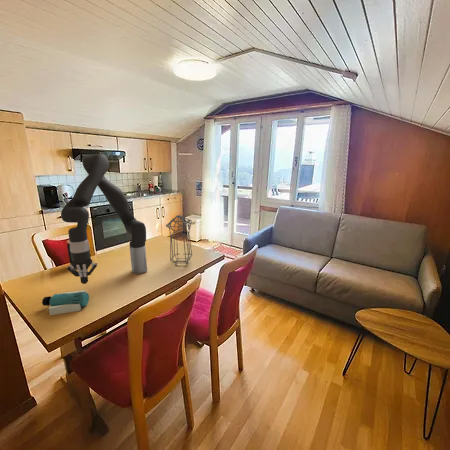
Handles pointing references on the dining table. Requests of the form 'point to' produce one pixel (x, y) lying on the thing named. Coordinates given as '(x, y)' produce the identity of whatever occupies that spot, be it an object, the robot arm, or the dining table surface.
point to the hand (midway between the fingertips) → (84, 283)
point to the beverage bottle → (66, 299)
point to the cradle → (66, 306)
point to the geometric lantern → (178, 236)
